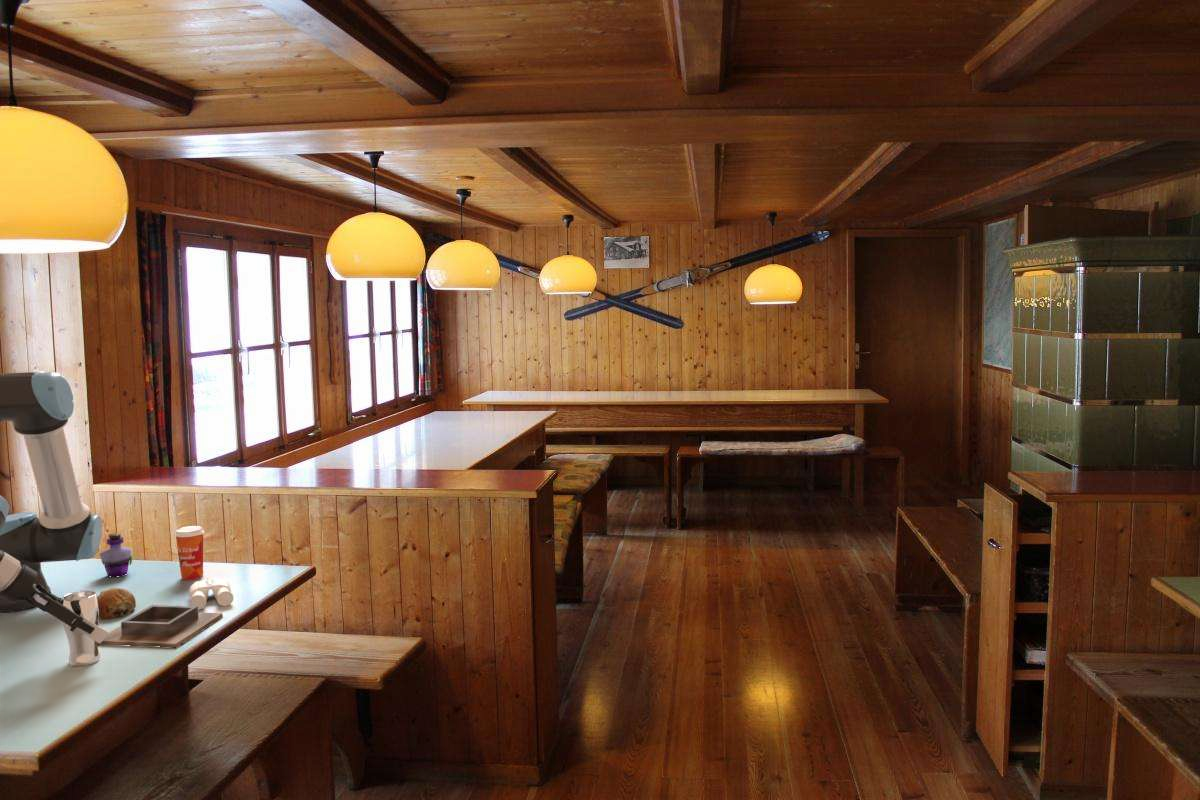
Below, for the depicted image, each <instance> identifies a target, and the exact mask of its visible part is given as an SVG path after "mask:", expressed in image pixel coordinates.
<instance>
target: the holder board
mask: <svg viewBox="0 0 1200 800" xmlns="http://www.w3.org/2000/svg"><path fill="white" fill-rule="evenodd" d="M220 618H221V619H222V618H224V617H223V612H202V611H201V612H199V610H198V607H195V606H190V605H162V604H160V605H158V604H152V605H150V606H148V607H146V608H145V609H143V610H140V611H139V612H137V613H135V614H133V615H132V616H129V617H128V618H125V620H122V621H121V622H120V626H119V627H116V628H114V629H113V630H111V631H108V632H109V633H108V635H107V636H106V637H105V638H104V639H103V641H102V642H101V643H98V642H97V646H112V645H130V646H129V647H137V646H160V647H159V648H162V647H177V646H179V645H180V646H181V644H182V643H183V642H185V641H186V642H188V641H189V640H191V639H192V638H194V637H195V636H196V634H197V635H198V634H199V632H200V631H201V632H202V630H203V629H204V630H205V628H206V627H207V628H209V627H210V626H211V625H210V624H212V623H213V624H215V623H216V622H218V621H219V620H221V619H220ZM218 619H219V620H218ZM217 620H218V621H217ZM215 621H216V622H215ZM214 622H215V623H214ZM213 624H212V625H213ZM209 625H210V626H209ZM208 626H209V627H208ZM207 628H206V629H207ZM204 630H203V631H204ZM201 632H200V633H201ZM193 636H194V637H193ZM190 638H191V639H190ZM187 640H188V641H187ZM186 642H185V643H186ZM183 644H184V643H183ZM183 644H182V645H183ZM180 646H179V647H180ZM177 648H178V647H177Z"/></svg>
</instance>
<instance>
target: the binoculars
mask: <svg viewBox="0 0 1200 800" xmlns="http://www.w3.org/2000/svg"><path fill="white" fill-rule="evenodd" d="M231 589H232V588H231V584H230V582H229V580H227V579H226V578H224V577H220V578H219V577H218V578H212V577H207V578H206V579H204V580H196V581H194V582H193V583H192V584H191V585H190V587H189V603H188V604H189V605H188V606H195V607H198V611H200V610H199V609H201V610H202V609H204V608H205V606H206V605H207V601H208V597H209V591H210V590H211V591H212V594H213V597H214V598H215V600H216V602H217V603H218V605H219V606H221V607H228V606H230V605H231V604H232V603H233V601H234V595H233V593H232V590H231ZM227 605H228V606H227Z"/></svg>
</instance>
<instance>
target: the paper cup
mask: <svg viewBox="0 0 1200 800" xmlns="http://www.w3.org/2000/svg"><path fill="white" fill-rule="evenodd" d="M204 534H205V530H204V529H203V527H202V526H200V525H199V526H198V525H189V526H183V527H180V528H178V529H176V531H175V533H174V536H175V539H176V547H177V555H178V562H179V563H178V564H179V569H180V576H181V579H182V580H183V579H184V581H190V580H191V581H193V580H198V579H201V578H202V577H203V576H204ZM200 577H201V578H200ZM197 578H198V579H197Z"/></svg>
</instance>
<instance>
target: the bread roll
mask: <svg viewBox="0 0 1200 800" xmlns="http://www.w3.org/2000/svg"><path fill="white" fill-rule="evenodd" d="M97 601H98V608H99V618H100V619H99V620H110V619H116V618H115V617H117V618H121V616H122V617H124V616H127V615H129V614H131V613H132V612H133V611H135V610H134V609H135V608H136V606H137V605H136V603H137V601H136V598H135V595H134V594H133V593H132V592H131V591H129V589H124V588H119V587H112V588H109V589H106V590H101V592H100V593H99V594H98V595H97ZM132 610H133V611H132ZM131 611H132V612H131ZM130 612H131V613H130ZM128 613H129V614H128ZM126 614H127V615H126ZM109 618H110V619H109Z"/></svg>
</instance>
